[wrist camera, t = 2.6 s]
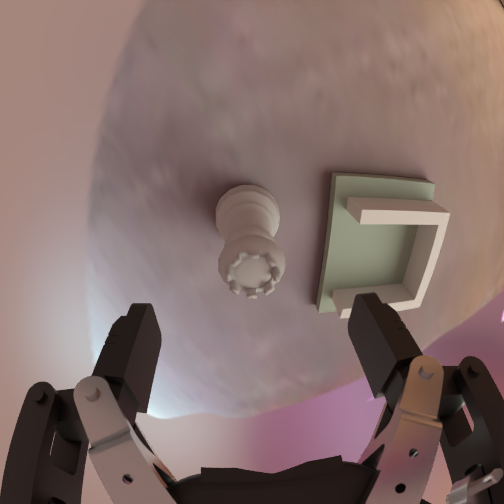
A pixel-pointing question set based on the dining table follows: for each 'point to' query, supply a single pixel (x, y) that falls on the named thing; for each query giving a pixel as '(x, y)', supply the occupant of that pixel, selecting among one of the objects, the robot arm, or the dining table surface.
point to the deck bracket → (379, 241)
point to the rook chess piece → (249, 240)
